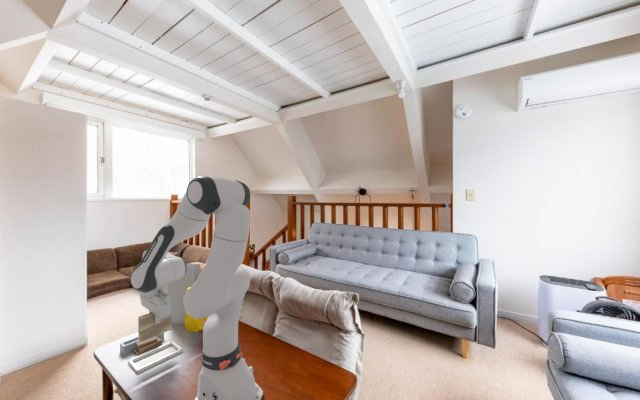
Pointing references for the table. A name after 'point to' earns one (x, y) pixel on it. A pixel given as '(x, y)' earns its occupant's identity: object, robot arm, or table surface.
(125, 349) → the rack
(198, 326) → the figure statuette
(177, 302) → the grey tall block
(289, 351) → the table surface
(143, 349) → the offcut
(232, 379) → the robot arm
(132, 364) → the tray
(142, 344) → the offcut
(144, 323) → the maple sheet
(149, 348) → the offcut
